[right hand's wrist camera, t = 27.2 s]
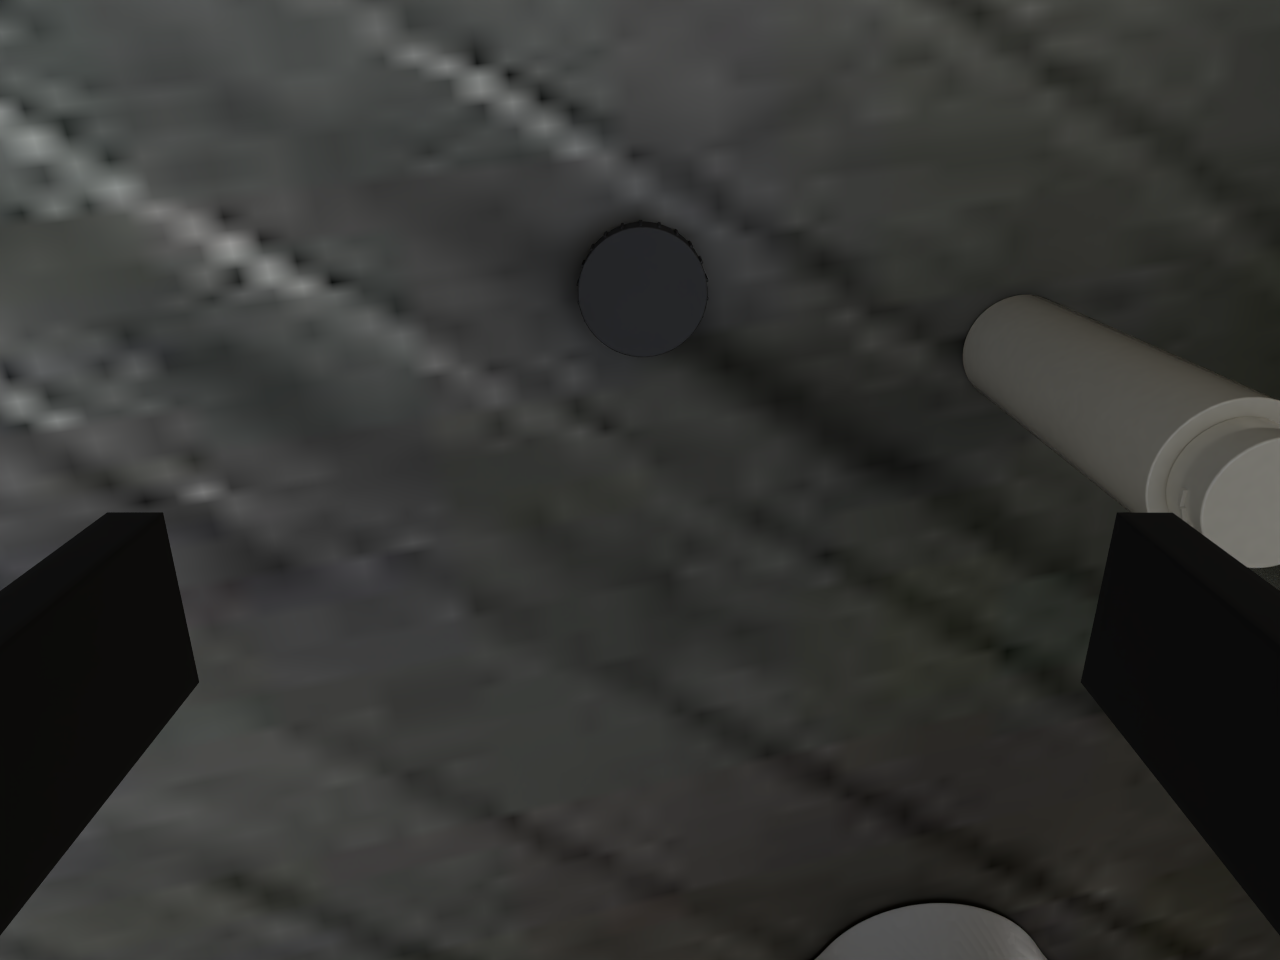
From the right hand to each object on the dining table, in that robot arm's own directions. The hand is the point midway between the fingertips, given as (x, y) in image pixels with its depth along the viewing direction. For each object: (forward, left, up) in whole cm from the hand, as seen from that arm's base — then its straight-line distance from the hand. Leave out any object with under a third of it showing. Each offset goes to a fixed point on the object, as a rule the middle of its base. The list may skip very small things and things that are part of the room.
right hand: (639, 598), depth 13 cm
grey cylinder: (+3, +17, -28) cm, 33 cm away
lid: (0, 0, -26) cm, 27 cm away
